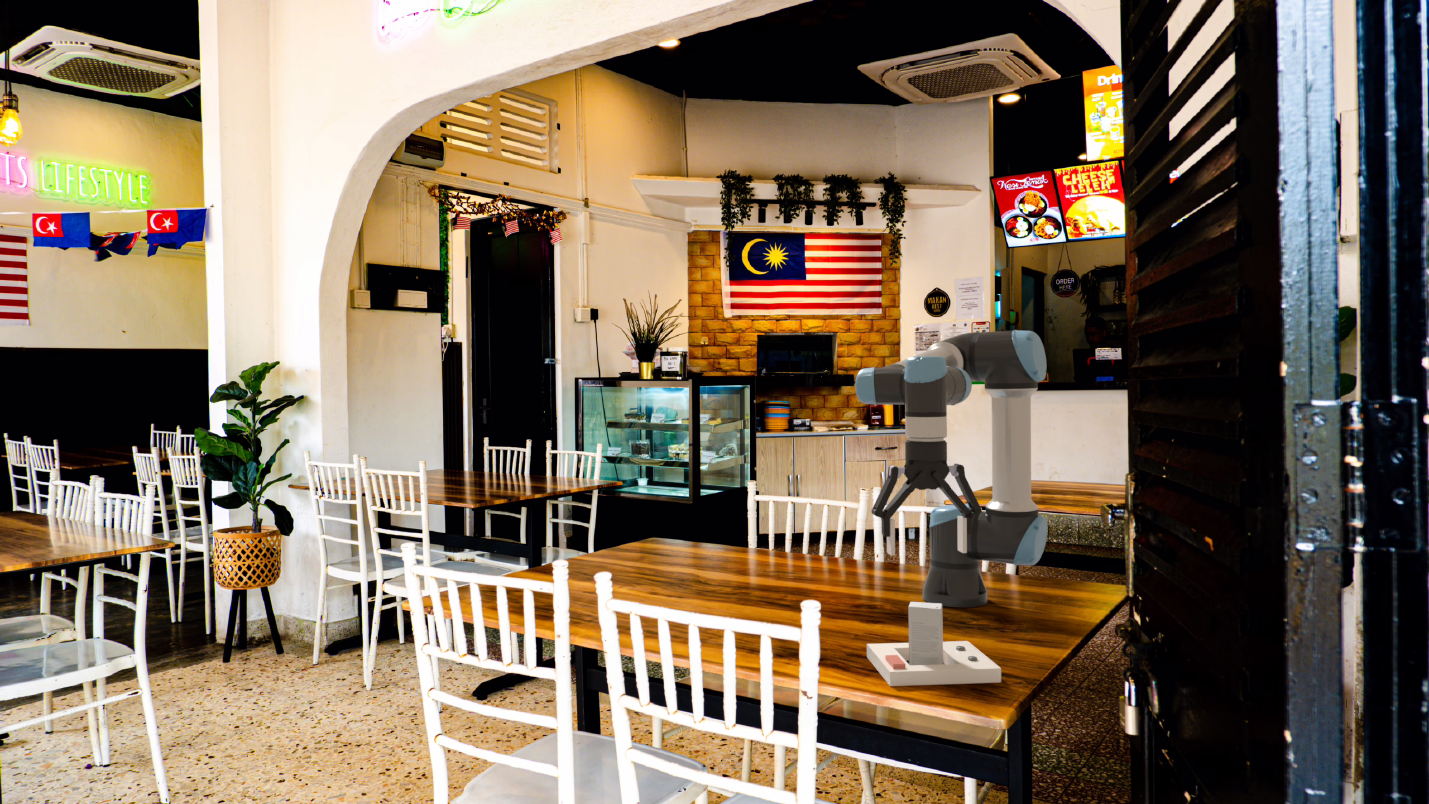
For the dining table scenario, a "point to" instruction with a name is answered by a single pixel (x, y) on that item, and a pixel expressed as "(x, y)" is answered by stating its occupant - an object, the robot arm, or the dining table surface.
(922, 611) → the skincare box
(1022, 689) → the dining table surface
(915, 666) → the socket plate
